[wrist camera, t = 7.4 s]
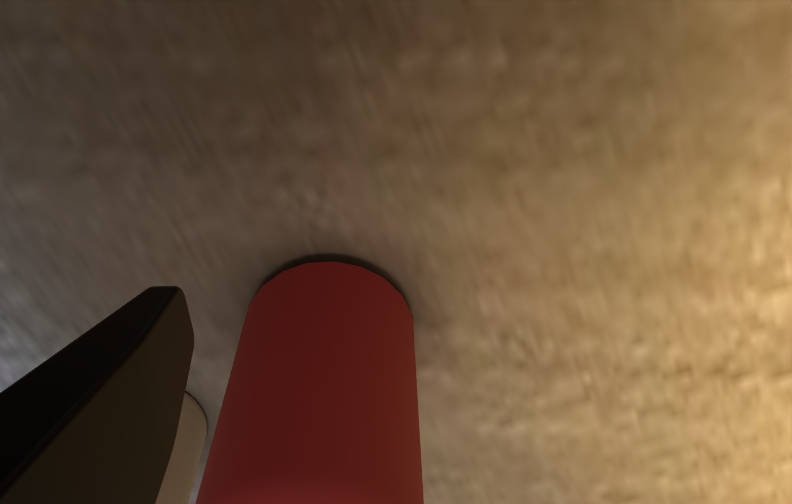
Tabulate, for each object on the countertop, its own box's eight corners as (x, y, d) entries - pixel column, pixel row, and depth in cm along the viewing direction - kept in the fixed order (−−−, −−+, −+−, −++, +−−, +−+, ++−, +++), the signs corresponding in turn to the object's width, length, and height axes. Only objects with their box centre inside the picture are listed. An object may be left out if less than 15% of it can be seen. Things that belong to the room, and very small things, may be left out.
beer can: (223, 270, 25) (118, 575, 15) (393, 237, 24) (401, 534, 14) (278, 391, 29) (223, 702, 19) (427, 365, 28) (453, 673, 18)
